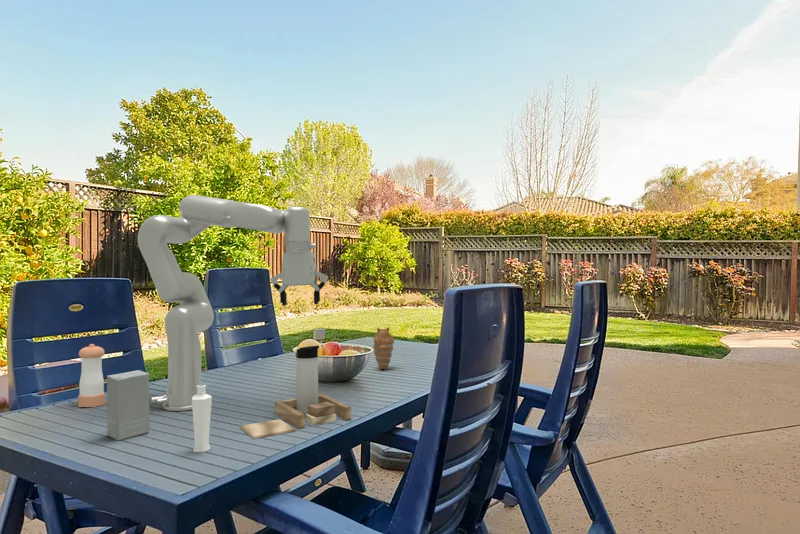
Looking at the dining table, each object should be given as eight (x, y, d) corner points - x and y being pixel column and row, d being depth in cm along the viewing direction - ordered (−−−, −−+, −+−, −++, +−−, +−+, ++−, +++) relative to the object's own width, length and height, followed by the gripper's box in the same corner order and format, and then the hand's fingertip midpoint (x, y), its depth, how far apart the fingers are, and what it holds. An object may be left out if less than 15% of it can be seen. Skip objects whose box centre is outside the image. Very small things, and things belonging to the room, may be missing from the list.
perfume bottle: (214, 446, 124) (214, 383, 124) (208, 452, 120) (208, 387, 120) (195, 446, 124) (194, 383, 124) (188, 452, 120) (188, 387, 120)
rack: (299, 428, 138) (298, 415, 138) (274, 413, 153) (274, 401, 153) (350, 419, 146) (350, 406, 146) (323, 405, 161) (323, 394, 161)
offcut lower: (312, 427, 140) (312, 418, 140) (305, 423, 145) (305, 414, 145) (336, 423, 144) (336, 414, 144) (328, 419, 148) (328, 410, 148)
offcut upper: (316, 417, 141) (316, 408, 141) (308, 414, 144) (308, 405, 144) (335, 413, 145) (335, 404, 145) (326, 410, 148) (326, 401, 148)
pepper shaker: (79, 404, 165) (79, 343, 165) (105, 401, 168) (105, 342, 168) (77, 409, 158) (77, 346, 158) (104, 406, 161) (104, 344, 162)
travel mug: (314, 417, 148) (314, 347, 148) (293, 416, 150) (292, 346, 150) (322, 411, 154) (322, 344, 155) (301, 410, 156) (301, 343, 156)
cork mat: (253, 439, 129) (253, 436, 129) (240, 428, 139) (240, 425, 139) (295, 431, 135) (295, 429, 135) (279, 421, 145) (279, 419, 145)
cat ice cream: (375, 372, 214) (375, 328, 214) (370, 369, 222) (370, 326, 222) (396, 370, 217) (396, 327, 217) (390, 367, 225) (390, 326, 225)
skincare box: (138, 428, 139) (139, 369, 139) (151, 433, 134) (151, 372, 134) (104, 436, 132) (105, 374, 132) (116, 442, 128) (116, 377, 128)
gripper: (328, 247, 161) (330, 303, 161) (272, 250, 161) (275, 305, 161) (324, 246, 153) (327, 304, 153) (266, 248, 154) (268, 306, 153)
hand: (300, 304), depth 157 cm, fingers open, 9 cm apart
